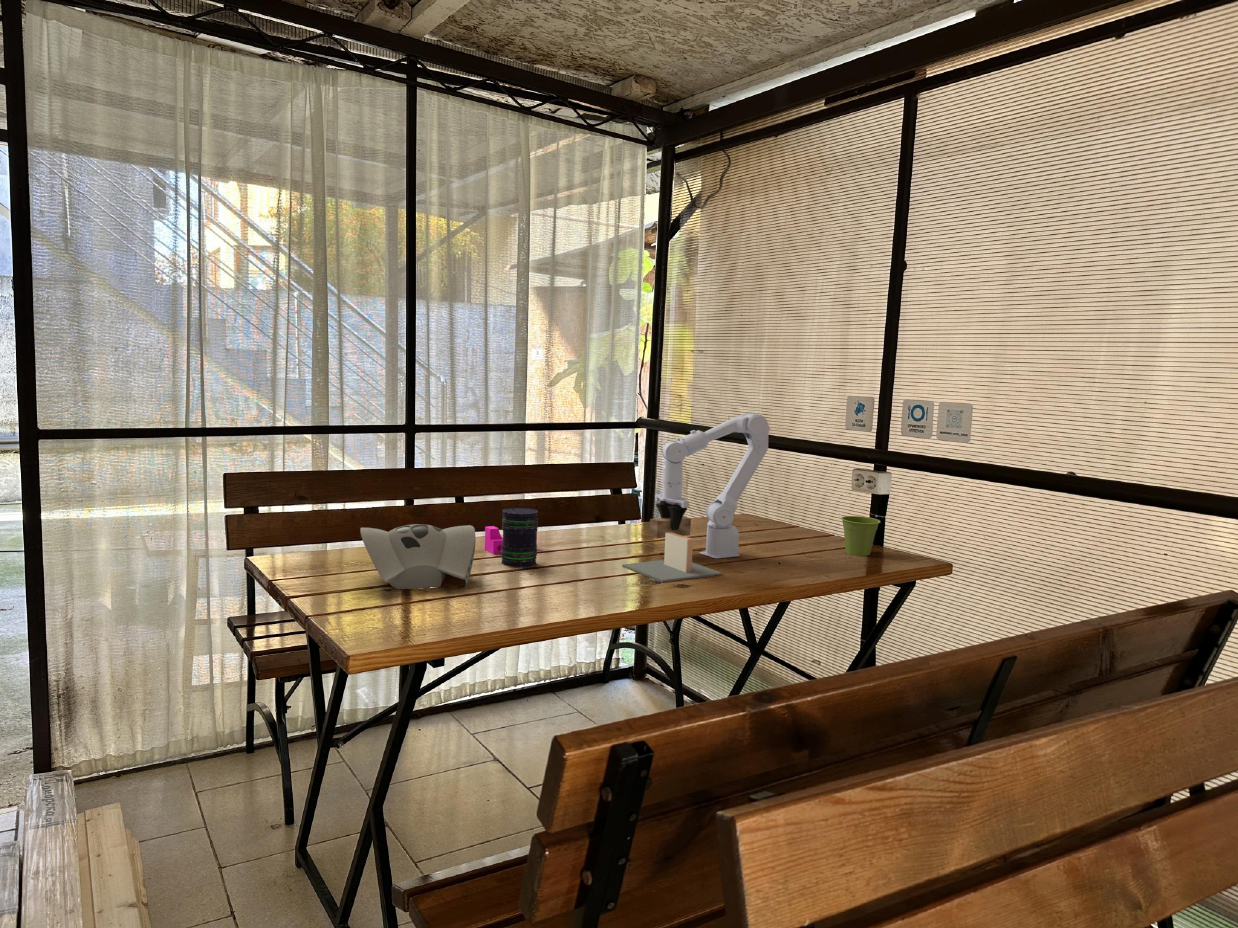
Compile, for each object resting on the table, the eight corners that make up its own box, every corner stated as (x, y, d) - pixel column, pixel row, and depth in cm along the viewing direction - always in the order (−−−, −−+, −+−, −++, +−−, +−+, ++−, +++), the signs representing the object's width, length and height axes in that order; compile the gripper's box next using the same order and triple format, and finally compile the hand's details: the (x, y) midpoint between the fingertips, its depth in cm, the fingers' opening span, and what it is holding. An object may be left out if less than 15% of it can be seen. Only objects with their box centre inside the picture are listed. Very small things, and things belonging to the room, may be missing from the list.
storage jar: (544, 564, 237) (545, 511, 236) (516, 569, 230) (518, 515, 229) (520, 558, 244) (522, 506, 242) (493, 563, 237) (494, 509, 235)
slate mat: (680, 560, 250) (680, 558, 250) (721, 574, 234) (721, 572, 234) (622, 566, 239) (622, 564, 239) (662, 582, 223) (662, 580, 223)
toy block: (493, 556, 246) (493, 530, 245) (484, 551, 251) (485, 526, 250) (540, 552, 254) (541, 527, 253) (531, 548, 259) (531, 523, 258)
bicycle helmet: (463, 557, 232) (468, 505, 226) (481, 608, 210) (487, 553, 204) (354, 561, 222) (357, 507, 216) (362, 615, 200) (365, 557, 194)
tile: (669, 563, 242) (671, 532, 241) (691, 571, 234) (693, 539, 233) (664, 564, 241) (665, 532, 240) (685, 572, 233) (687, 539, 232)
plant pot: (835, 556, 264) (838, 520, 263) (841, 549, 275) (843, 514, 274) (875, 561, 260) (878, 524, 258) (879, 553, 271) (882, 518, 269)
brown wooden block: (682, 532, 259) (683, 516, 259) (690, 535, 256) (690, 518, 255) (649, 535, 253) (650, 518, 252) (657, 538, 250) (657, 521, 249)
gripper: (647, 480, 257) (645, 524, 258) (675, 486, 245) (674, 533, 246) (666, 479, 260) (665, 523, 262) (695, 485, 248) (693, 531, 250)
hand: (670, 528), depth 254 cm, fingers closed on brown wooden block, 4 cm apart
